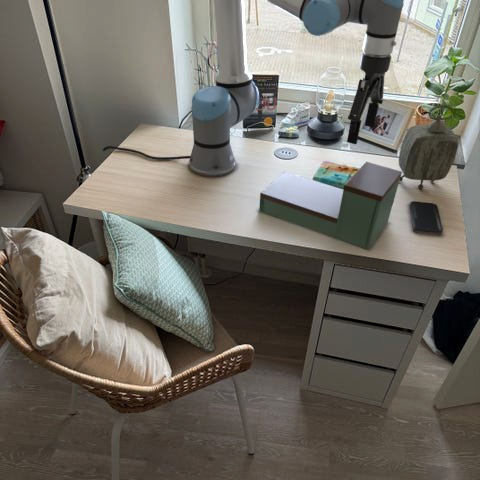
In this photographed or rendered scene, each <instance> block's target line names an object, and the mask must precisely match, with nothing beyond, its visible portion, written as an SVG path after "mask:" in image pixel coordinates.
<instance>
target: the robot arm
mask: <svg viewBox="0 0 480 480" xmlns="http://www.w3.org/2000/svg"><path fill="white" fill-rule="evenodd" d="M265 1H266V2H268V3H270V4H271V5H273V6H275V7H276V8H278V9H280V10H282V11H283V12H285V13H287V14H288V15H291V16H292V17H294V18H295V19H297V20H300V21H301V22H303V26H304V28H305V29H306V31H307V32H308V33H309V34H310V35H312V36H315V37H321V36H325V35H327V34H331V33H332V32H333V31H334V30H336V29H338V28H340V27H343V26H344V25H345V24H347V23H350V24H357V25H358V24H359V25H366V31H365V36H364V41H363V45H362V51H363V53H362V54H361V59H360V65H359V69H360V70H361V71H362V72H364V77H362V79H359V81H358V85H357V89H356V92H355V95H354V98H353V102H352V105H351V107H350V111H349V114H348V116H347V120H349V121H350V123H349V128H348V134H347V139H346V143H349V144H352V145H357V144H358V140H359V135H360V130H361V124H362V116H363V114H364V111H365V109H366V106H367V103H368V108H367V113H366V117H365V121H364V126H365V127H369V128H374V127H375V125H376V121H377V116H378V111H379V106H380V105H382V104H383V103H384V100H383V98H384V91H385V90H384V88H385V76H386V75H385V74H386V73H387V72H388V71H389V70H390V65H391V60H392V55H391V54H393V51H394V47H395V46H397V41H396V37H397V32H398V27H399V24H400V19H401V15H402V12H403V7H404V2H405V1H404V0H265ZM213 5H214V17H215V31H216V42H217V44H216V45H217V55H218V67H219V68H218V69H219V72H218V74H217V75H216V77H215V85H211V86H209V87H207V86H206V87H201V88H199V89H198V90H197V91H196V92H194V94H193V95H192V98H191V117H192V131H193V145H192V149H191V153H190V155H180V156H153V155H149V154H146V153H145V152H142V151H140V150H135V149H133V148H132V149H131V148H127V147H126V148H125V147H120V146H114V145H107V146H105V147H103V148H102V151H103V152H106V150H108V149H113V150H118V151H125V152H129V153H130V152H131V153H135V154H137V155H141V156H143V157H145V158H147V159H151V160H157V161H168V160H169V161H171V160H172V161H173V160H174V161H175V160H187V159H189V161H188V163H189V168H190V170H191V171H192V172H193V173H195V174H196V175H199V176H203V177H208V178H215V177H223V176H226V175H229V174H230V173H232V172H233V171H234V170H235V168H236V158H235V155H234V152H233V148H232V145H231V128H232V127H234V126H236V125H237V124H239V123H241V122H242V121H245V120H246V119H248V118H249V117H250V116H251V115H252V114H254V113H255V111H256V110H257V108H258V106H259V103H260V93H259V89H258V86H256V85H255V81H253V74H251V73H250V71H248V65H247V63H248V62H247V41H246V40H247V39H246V21H245V16H246V15H245V0H213ZM369 99H370V102H369Z"/></svg>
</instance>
